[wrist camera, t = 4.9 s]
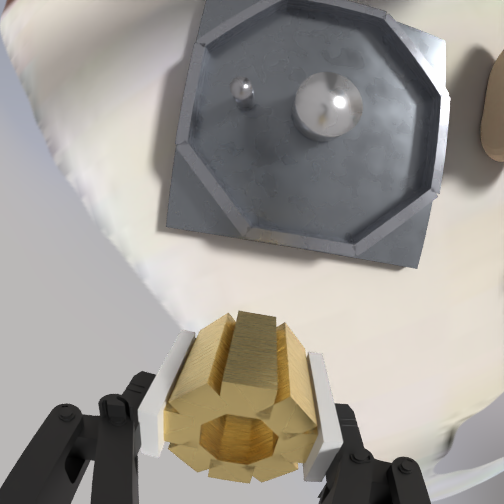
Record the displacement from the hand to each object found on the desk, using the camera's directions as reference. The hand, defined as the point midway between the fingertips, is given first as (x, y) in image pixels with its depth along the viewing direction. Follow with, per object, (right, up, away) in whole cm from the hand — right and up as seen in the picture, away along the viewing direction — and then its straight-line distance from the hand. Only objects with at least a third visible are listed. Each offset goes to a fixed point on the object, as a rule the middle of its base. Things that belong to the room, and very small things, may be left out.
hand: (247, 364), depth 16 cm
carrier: (+6, +18, +10) cm, 22 cm away
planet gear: (0, 0, 0) cm, 0 cm away
